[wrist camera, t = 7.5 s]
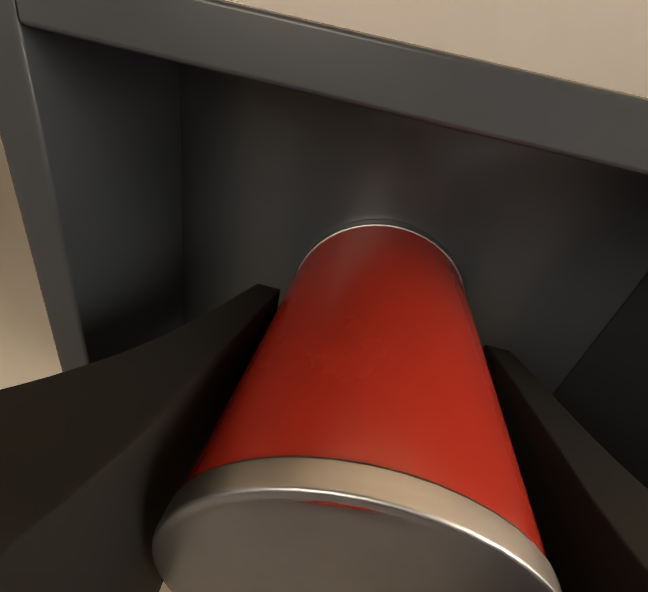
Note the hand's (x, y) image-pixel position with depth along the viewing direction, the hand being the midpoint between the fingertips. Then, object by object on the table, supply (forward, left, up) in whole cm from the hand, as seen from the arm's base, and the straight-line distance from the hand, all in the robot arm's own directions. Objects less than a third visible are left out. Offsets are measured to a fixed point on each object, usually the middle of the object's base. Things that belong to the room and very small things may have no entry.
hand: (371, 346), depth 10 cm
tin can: (0, 0, -2) cm, 2 cm away
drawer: (0, 0, -3) cm, 3 cm away
